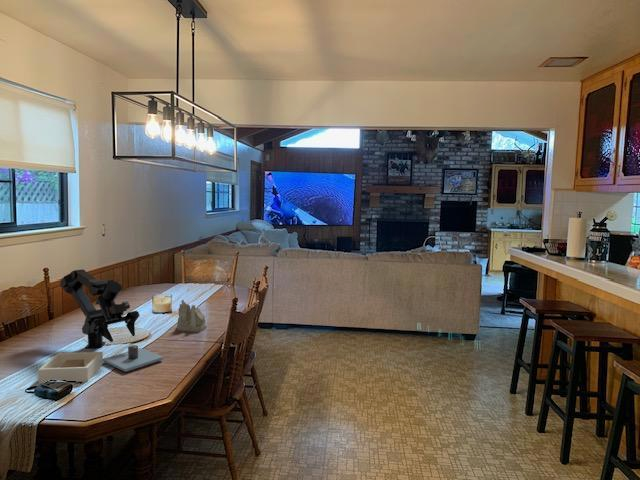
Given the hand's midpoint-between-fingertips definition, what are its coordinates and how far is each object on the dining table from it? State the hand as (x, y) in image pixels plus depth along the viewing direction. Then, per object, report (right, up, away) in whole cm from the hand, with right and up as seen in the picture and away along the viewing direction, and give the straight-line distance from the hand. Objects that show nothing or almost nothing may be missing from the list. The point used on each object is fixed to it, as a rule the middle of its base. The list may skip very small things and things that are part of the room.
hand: (123, 338), depth 178 cm
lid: (+5, -9, -3) cm, 11 cm away
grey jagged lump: (+16, -4, +44) cm, 47 cm away
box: (-12, -9, -15) cm, 21 cm away
